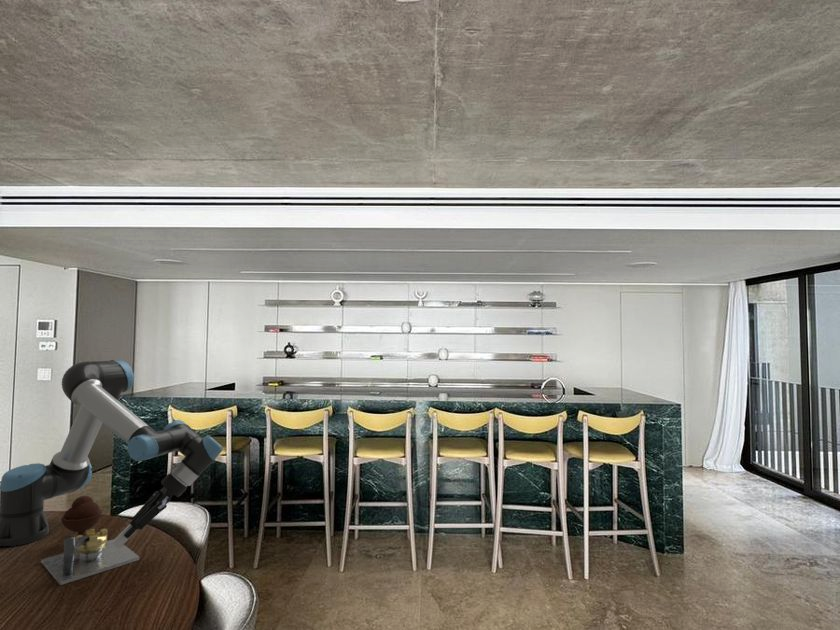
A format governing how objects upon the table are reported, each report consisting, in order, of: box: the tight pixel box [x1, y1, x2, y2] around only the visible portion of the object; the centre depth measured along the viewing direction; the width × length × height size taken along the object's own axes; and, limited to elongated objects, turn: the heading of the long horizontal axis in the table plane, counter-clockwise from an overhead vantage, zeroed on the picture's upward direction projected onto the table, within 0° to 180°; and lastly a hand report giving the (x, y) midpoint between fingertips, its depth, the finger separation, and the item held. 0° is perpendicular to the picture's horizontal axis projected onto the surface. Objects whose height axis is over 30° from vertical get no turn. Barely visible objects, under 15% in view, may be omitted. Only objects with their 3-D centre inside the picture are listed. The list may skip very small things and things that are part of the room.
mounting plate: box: [40, 538, 140, 586], centre depth 146 cm, size 20×20×4 cm
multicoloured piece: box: [63, 527, 109, 575], centre depth 143 cm, size 15×8×10 cm, turn 0°
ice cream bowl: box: [61, 495, 103, 541], centre depth 159 cm, size 11×11×15 cm
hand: (115, 545), depth 143 cm, fingers closed
